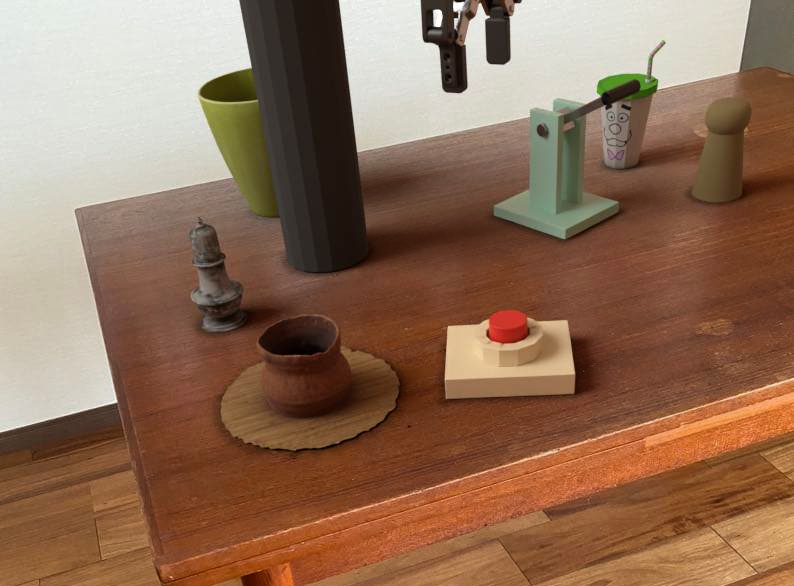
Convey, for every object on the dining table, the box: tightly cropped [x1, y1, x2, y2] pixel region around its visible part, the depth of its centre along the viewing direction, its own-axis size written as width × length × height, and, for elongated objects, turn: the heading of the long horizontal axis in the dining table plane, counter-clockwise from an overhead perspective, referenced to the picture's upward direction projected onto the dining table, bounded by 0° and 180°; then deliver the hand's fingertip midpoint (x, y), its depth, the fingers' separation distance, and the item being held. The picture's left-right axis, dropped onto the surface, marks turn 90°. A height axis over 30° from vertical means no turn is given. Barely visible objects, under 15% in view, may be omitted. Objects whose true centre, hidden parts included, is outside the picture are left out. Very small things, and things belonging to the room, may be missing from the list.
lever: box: [556, 79, 641, 132], centre depth 101 cm, size 12×5×2 cm, turn 41°
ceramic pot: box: [219, 313, 401, 452], centre depth 84 cm, size 18×18×7 cm
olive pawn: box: [691, 96, 753, 203], centre depth 108 cm, size 6×6×11 cm
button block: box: [444, 317, 576, 400], centre depth 86 cm, size 12×10×4 cm
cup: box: [596, 39, 666, 170], centre depth 117 cm, size 8×8×15 cm
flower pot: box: [197, 67, 279, 218], centre depth 118 cm, size 15×15×16 cm
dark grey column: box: [238, 0, 370, 274], centre depth 100 cm, size 10×10×30 cm
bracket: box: [493, 97, 620, 241], centre depth 108 cm, size 12×10×13 cm
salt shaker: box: [188, 216, 248, 334], centre depth 96 cm, size 6×6×12 cm
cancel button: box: [488, 309, 528, 344], centre depth 84 cm, size 4×4×2 cm
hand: (477, 77), depth 81 cm, fingers open, 8 cm apart
